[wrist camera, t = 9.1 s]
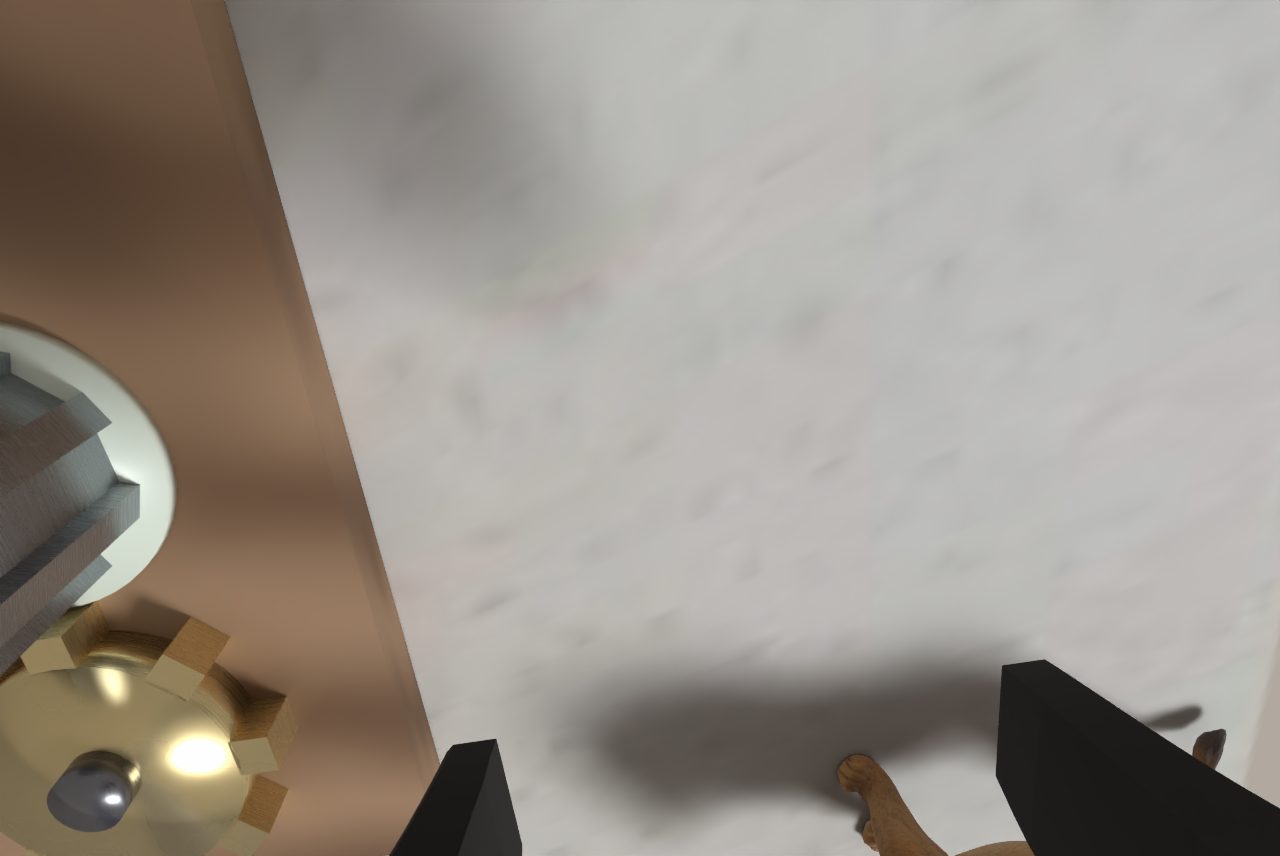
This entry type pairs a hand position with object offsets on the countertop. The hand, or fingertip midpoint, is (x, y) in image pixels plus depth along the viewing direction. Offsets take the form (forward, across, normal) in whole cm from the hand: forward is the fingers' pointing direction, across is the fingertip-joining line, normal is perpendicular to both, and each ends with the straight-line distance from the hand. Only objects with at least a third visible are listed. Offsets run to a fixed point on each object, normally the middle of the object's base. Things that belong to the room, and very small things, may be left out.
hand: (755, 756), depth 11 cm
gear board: (+9, +14, -2) cm, 17 cm away
